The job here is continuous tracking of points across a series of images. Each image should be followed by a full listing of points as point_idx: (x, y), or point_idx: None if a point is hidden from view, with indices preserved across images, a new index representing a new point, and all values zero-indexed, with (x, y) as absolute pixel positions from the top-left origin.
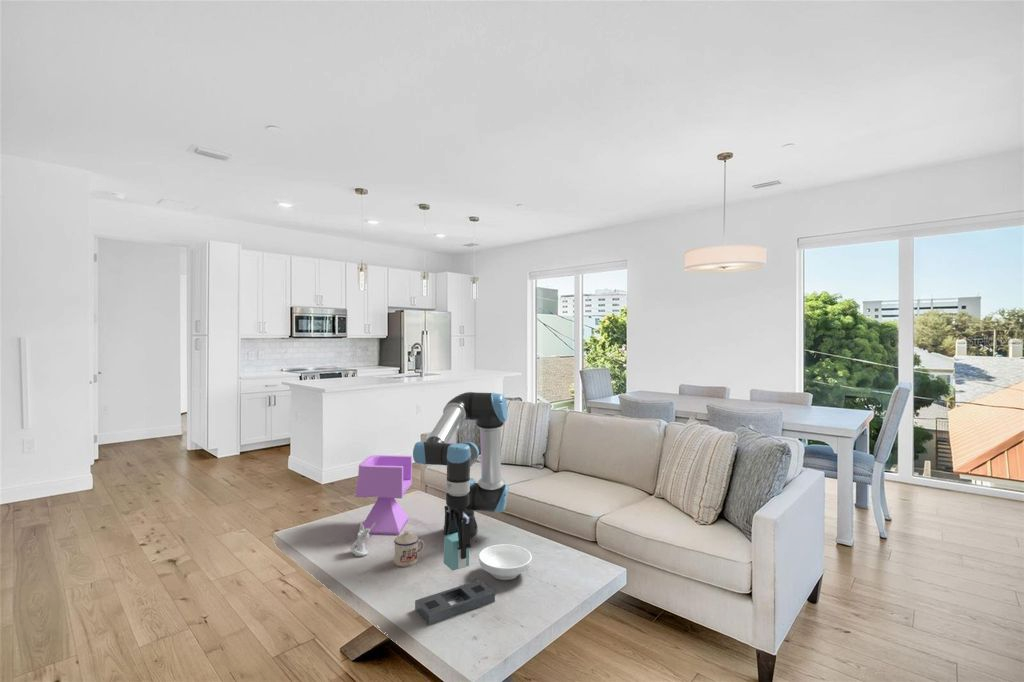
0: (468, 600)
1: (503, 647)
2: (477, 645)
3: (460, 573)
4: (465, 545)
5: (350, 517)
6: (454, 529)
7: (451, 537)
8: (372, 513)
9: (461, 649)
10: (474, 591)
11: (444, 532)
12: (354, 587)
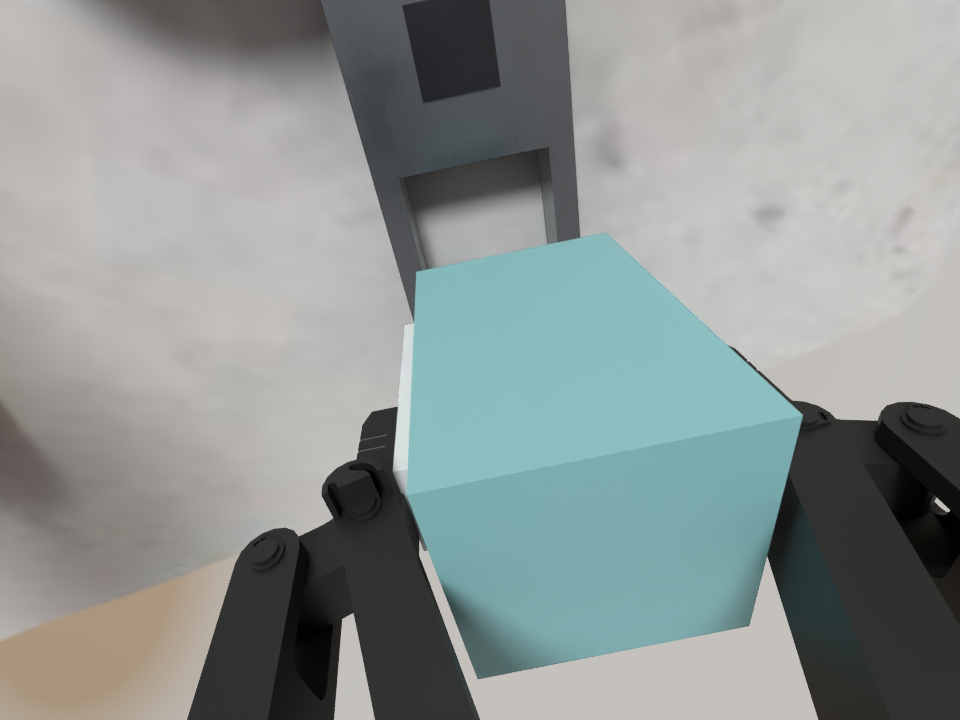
0: (563, 177)
1: (924, 108)
2: (819, 223)
3: (56, 46)
4: (947, 513)
5: None
6: (456, 663)
7: (586, 626)
8: None
9: (791, 292)
10: (478, 93)
11: (299, 641)
12: (201, 558)
